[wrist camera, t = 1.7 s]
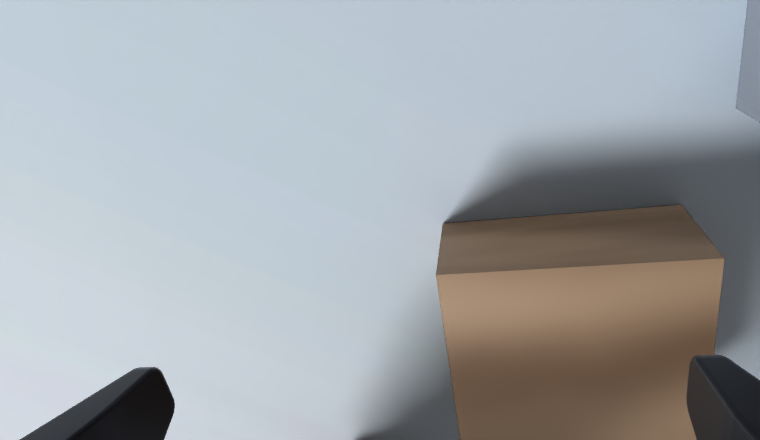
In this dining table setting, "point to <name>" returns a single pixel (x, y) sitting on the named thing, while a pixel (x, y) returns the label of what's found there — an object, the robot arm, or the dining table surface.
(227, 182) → the dining table surface
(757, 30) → the slate cube
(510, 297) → the walnut block
